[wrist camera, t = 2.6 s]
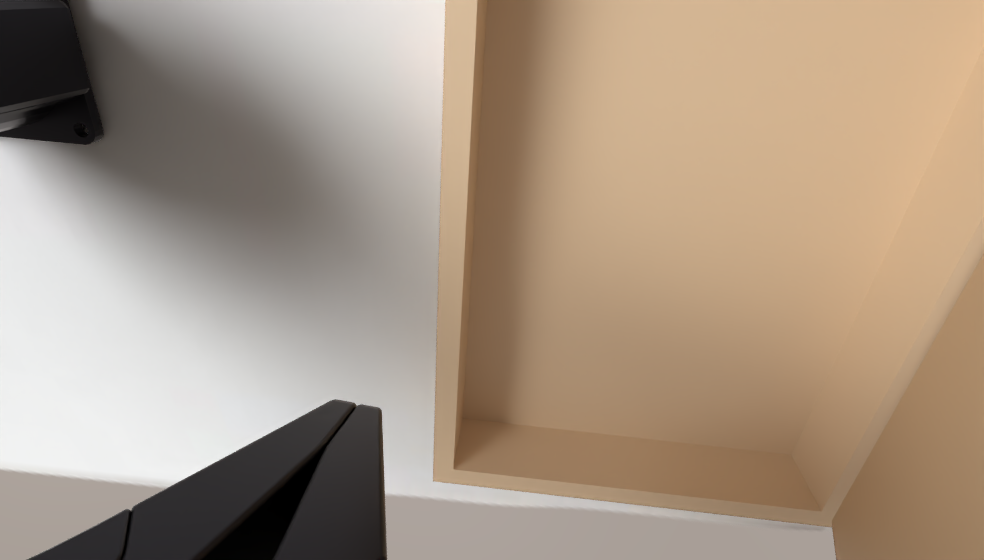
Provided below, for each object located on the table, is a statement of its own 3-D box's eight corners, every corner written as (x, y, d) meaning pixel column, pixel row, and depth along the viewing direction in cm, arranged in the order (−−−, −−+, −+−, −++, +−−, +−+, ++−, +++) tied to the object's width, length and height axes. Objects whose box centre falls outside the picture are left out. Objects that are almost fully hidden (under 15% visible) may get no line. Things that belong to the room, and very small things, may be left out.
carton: (446, 420, 25) (433, 481, 22) (471, -201, 14) (452, -252, 11) (797, 459, 24) (834, 527, 21) (1095, -158, 14) (1255, -200, 11)
